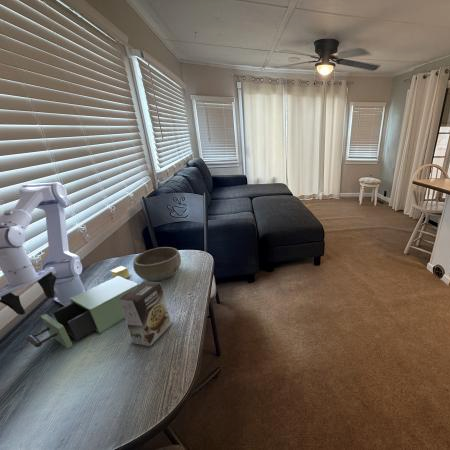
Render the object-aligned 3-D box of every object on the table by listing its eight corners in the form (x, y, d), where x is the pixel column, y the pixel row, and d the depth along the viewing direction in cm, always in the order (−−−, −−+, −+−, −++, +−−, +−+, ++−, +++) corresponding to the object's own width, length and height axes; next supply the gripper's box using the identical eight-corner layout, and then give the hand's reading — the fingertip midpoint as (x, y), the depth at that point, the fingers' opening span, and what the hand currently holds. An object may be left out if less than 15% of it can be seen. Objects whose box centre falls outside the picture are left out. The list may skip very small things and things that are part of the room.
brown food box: (151, 346, 70) (136, 301, 64) (132, 343, 71) (116, 299, 65) (172, 324, 78) (161, 282, 72) (155, 321, 79) (143, 280, 74)
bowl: (190, 273, 107) (185, 253, 103) (146, 292, 94) (139, 270, 91) (173, 261, 117) (169, 242, 114) (132, 276, 105) (125, 256, 101)
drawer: (46, 361, 65) (34, 341, 62) (28, 346, 70) (17, 327, 67) (118, 317, 80) (111, 300, 77) (99, 308, 85) (93, 290, 82)
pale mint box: (99, 333, 75) (90, 309, 72) (79, 320, 80) (69, 298, 77) (145, 304, 87) (138, 283, 84) (125, 295, 92) (118, 275, 89)
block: (113, 279, 103) (110, 270, 102) (124, 274, 107) (121, 265, 105) (119, 281, 101) (116, 272, 100) (129, 276, 105) (127, 267, 104)
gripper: (36, 254, 76) (53, 289, 81) (-30, 280, 63) (-5, 320, 68) (53, 255, 75) (69, 291, 80) (-10, 282, 62) (14, 323, 67)
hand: (36, 305), depth 74 cm, fingers open, 7 cm apart
